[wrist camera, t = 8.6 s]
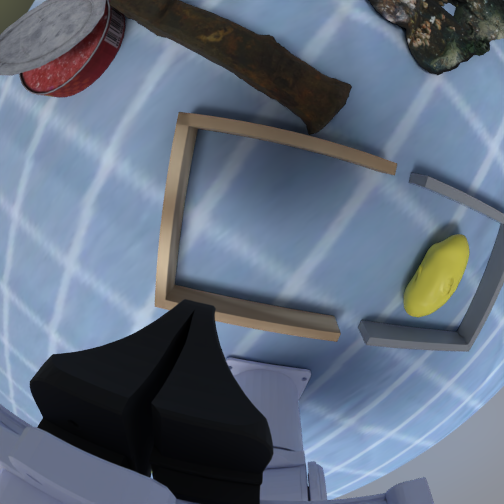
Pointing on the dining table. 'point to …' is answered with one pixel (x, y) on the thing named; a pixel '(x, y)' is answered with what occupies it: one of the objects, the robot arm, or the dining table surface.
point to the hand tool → (244, 57)
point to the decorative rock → (445, 29)
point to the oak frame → (172, 218)
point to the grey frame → (497, 272)
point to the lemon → (437, 276)
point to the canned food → (62, 45)
